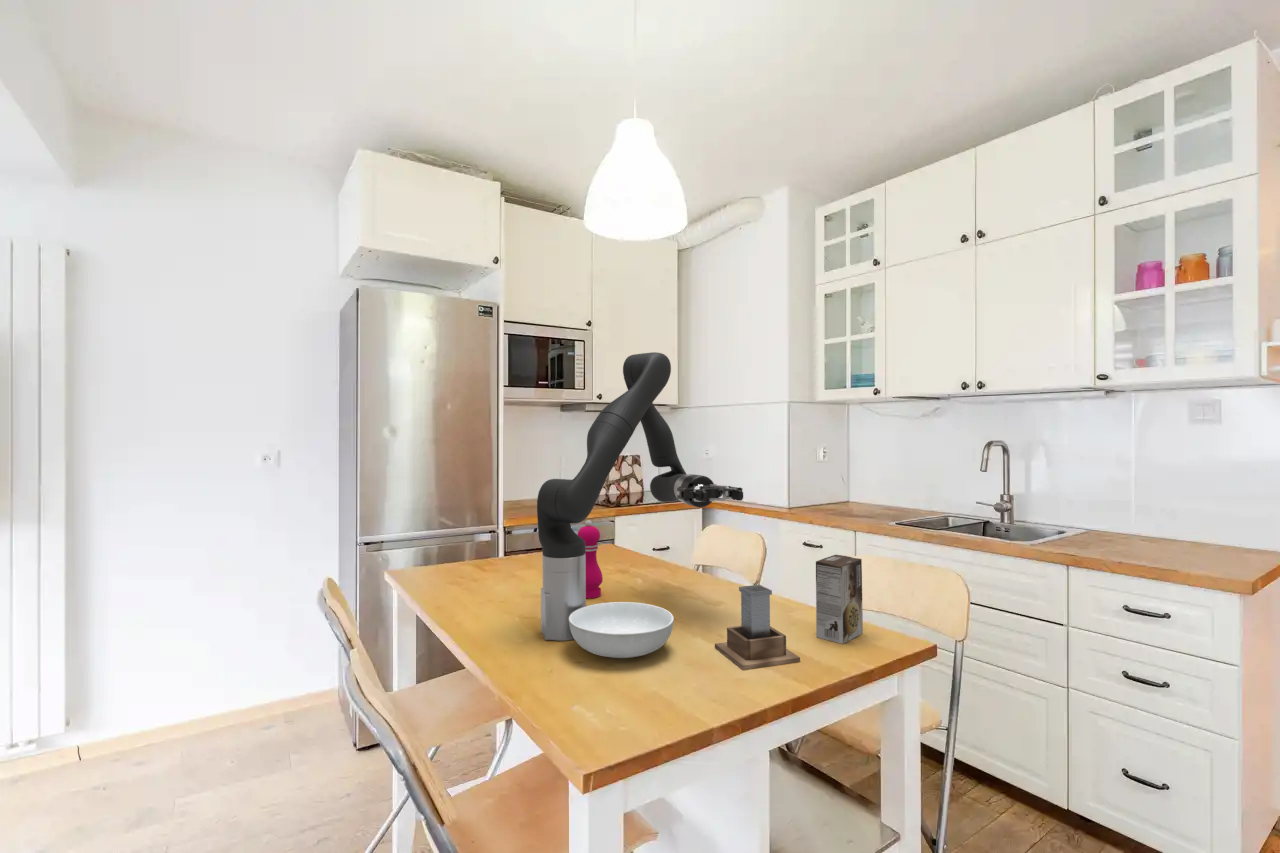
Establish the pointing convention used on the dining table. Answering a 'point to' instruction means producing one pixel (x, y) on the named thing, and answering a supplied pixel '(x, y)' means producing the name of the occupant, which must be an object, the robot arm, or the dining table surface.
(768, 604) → the grey square peg
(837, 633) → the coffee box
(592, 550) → the pepper mill
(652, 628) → the serving bowl
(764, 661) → the box
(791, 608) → the dining table surface
